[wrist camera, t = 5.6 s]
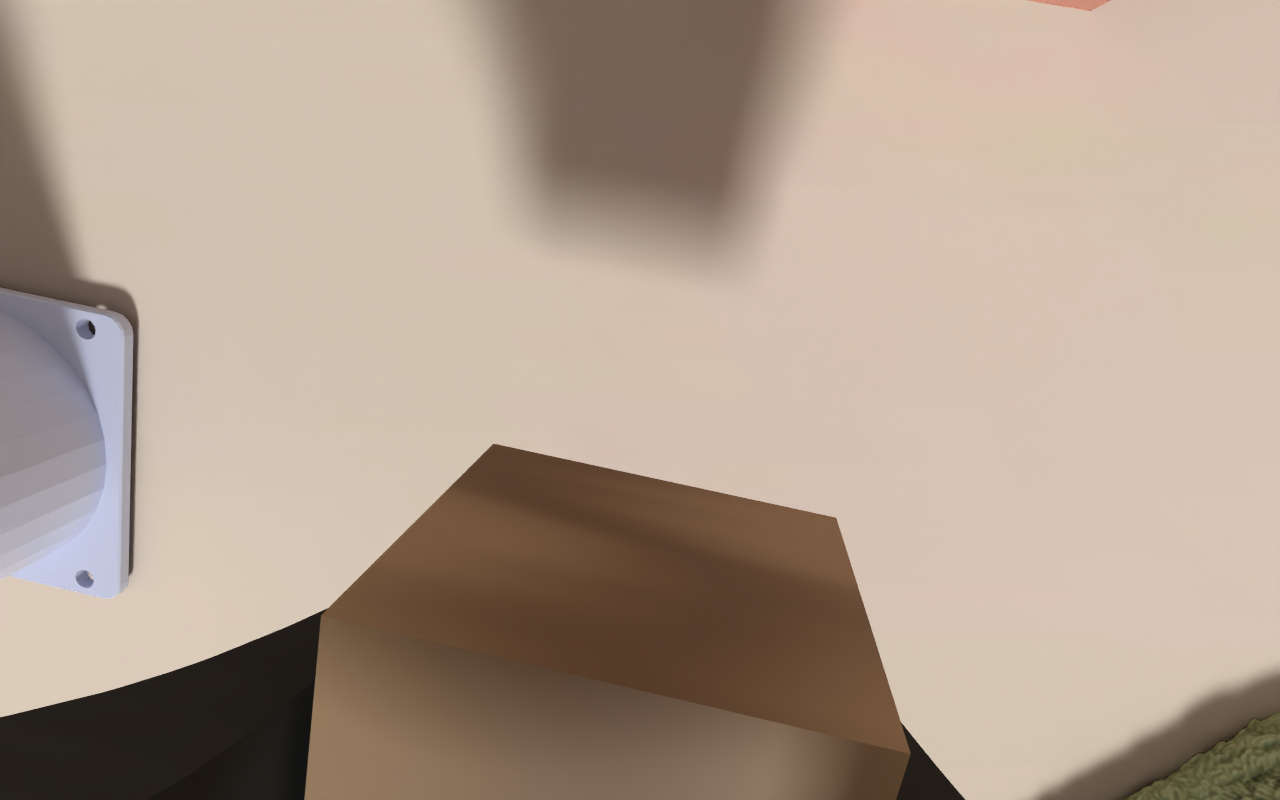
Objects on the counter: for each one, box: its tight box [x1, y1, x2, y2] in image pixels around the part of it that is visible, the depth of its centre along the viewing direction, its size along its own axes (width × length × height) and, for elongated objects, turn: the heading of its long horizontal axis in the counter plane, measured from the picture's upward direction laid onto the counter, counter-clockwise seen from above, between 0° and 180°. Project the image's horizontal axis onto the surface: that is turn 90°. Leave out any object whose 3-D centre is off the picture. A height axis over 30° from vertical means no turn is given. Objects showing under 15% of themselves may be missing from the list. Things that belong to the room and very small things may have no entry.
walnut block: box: [304, 444, 911, 800], centre depth 10 cm, size 5×5×5 cm
